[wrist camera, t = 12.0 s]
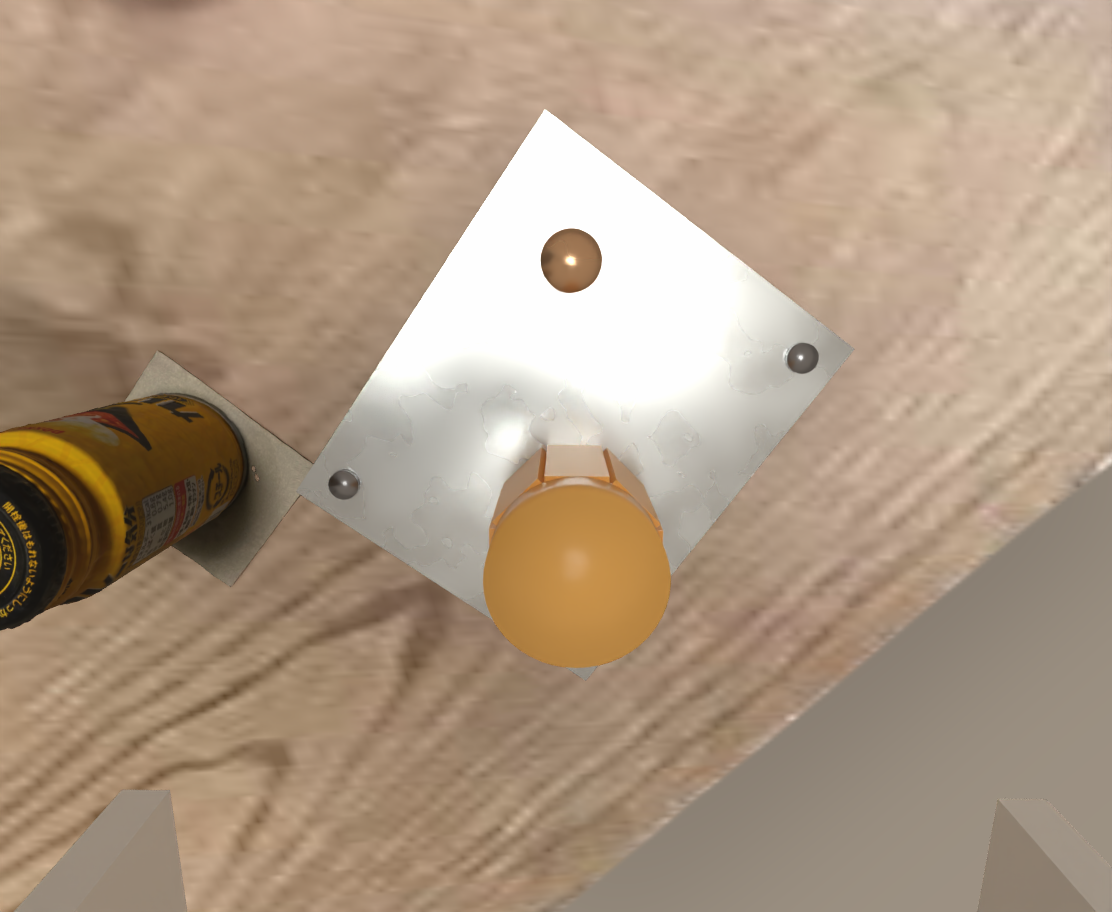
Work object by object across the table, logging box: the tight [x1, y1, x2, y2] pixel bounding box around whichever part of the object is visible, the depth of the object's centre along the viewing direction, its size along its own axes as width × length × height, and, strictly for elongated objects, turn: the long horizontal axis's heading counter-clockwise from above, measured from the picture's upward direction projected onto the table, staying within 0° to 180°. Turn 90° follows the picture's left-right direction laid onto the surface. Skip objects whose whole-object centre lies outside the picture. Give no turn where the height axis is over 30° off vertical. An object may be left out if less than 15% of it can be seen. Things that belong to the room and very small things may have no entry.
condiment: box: [0, 351, 313, 630], centre depth 25 cm, size 7×8×12 cm
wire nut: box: [483, 445, 671, 668], centre depth 25 cm, size 6×6×7 cm
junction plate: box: [296, 109, 854, 681], centre depth 27 cm, size 15×18×7 cm
